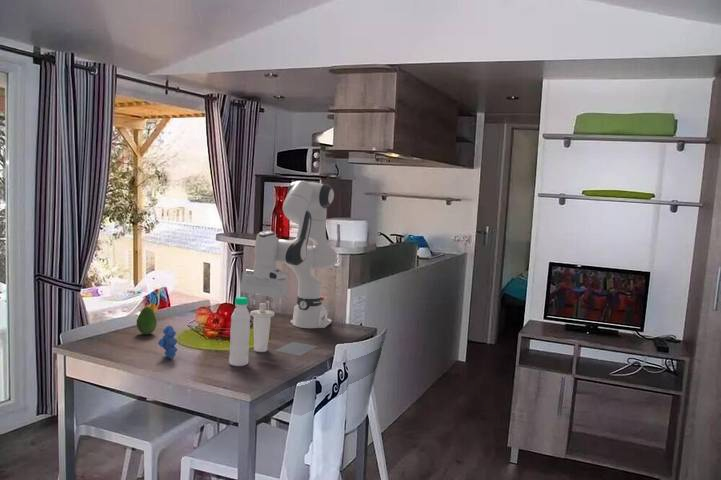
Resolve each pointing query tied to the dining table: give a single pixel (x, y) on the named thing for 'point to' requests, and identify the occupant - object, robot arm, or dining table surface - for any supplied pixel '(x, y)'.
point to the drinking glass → (261, 333)
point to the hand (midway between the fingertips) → (262, 306)
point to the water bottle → (240, 333)
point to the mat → (296, 348)
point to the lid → (262, 312)
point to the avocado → (146, 321)
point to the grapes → (169, 342)
